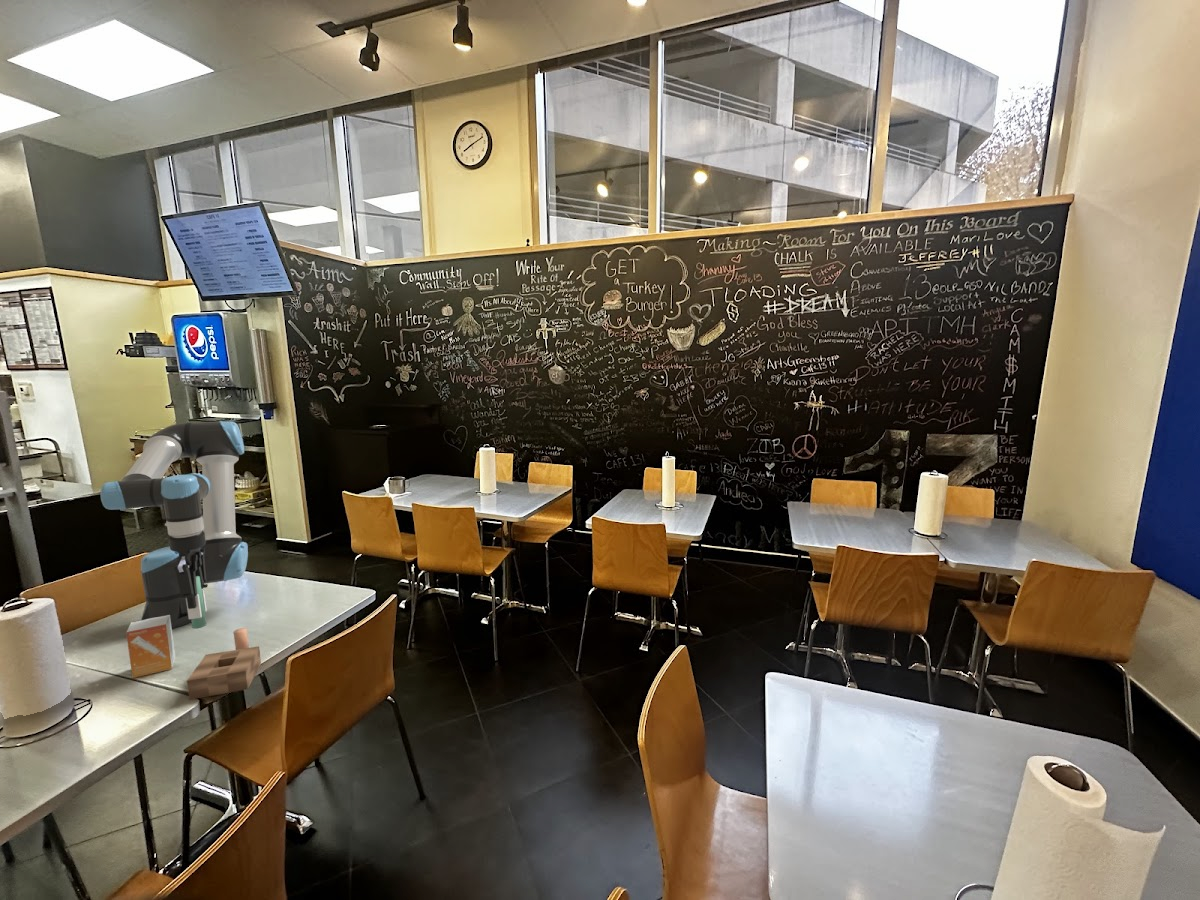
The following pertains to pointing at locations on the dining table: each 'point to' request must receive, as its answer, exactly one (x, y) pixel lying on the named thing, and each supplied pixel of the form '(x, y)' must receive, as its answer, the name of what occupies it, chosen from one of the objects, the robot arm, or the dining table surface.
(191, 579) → the robot arm
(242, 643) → the short dowel
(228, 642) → the dining table surface
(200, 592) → the long dowel
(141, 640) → the small box
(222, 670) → the collar block
